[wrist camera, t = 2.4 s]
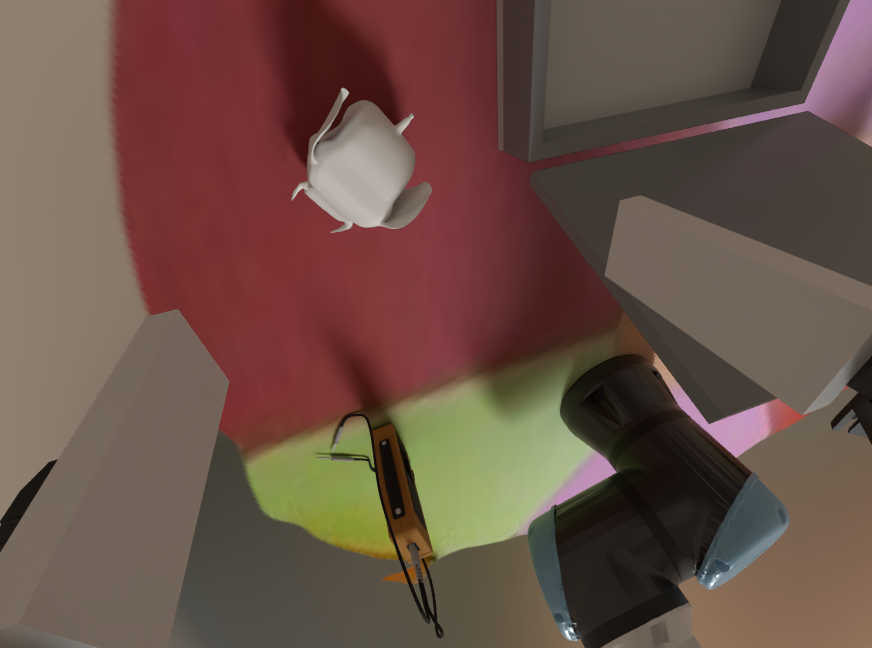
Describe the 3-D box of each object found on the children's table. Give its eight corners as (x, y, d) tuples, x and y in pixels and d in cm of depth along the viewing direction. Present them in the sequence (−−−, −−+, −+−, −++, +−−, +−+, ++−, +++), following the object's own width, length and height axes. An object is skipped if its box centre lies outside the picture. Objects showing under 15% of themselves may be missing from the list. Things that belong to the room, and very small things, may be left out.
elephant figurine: (264, 170, 24) (252, 200, 19) (358, 56, 22) (375, 53, 17) (350, 241, 29) (360, 282, 24) (434, 152, 27) (467, 173, 21)
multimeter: (297, 433, 40) (292, 667, 24) (381, 401, 41) (428, 606, 25) (346, 492, 49) (365, 689, 33) (414, 465, 50) (463, 644, 34)
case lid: (1100, 276, 19) (1043, 300, 20) (807, 110, 28) (786, 137, 30) (723, 416, 15) (694, 431, 17) (531, 171, 24) (525, 197, 26)
